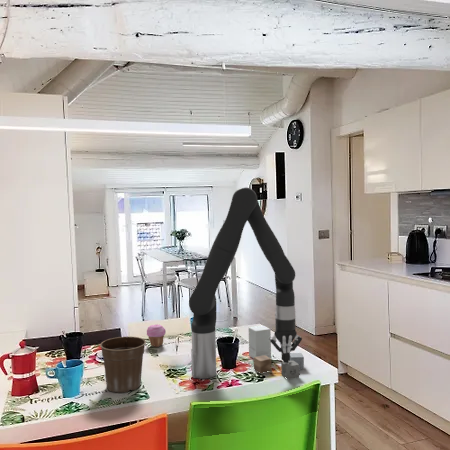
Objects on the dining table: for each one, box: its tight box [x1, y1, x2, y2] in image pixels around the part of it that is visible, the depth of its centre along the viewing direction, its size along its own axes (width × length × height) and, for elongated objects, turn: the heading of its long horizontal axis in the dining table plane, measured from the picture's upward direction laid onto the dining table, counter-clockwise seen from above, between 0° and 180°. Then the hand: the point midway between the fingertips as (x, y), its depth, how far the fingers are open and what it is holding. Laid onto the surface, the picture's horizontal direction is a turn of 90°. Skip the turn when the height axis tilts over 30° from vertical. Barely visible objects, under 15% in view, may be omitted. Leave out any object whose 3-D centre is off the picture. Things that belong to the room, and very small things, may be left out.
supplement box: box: [248, 324, 272, 360], centre depth 188 cm, size 7×7×13 cm
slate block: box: [290, 352, 305, 370], centre depth 176 cm, size 5×5×5 cm
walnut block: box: [253, 355, 272, 374], centre depth 173 cm, size 5×5×5 cm
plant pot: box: [99, 336, 147, 394], centre depth 160 cm, size 16×16×16 cm
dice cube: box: [280, 360, 300, 380], centre depth 167 cm, size 5×5×5 cm
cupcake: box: [146, 323, 166, 348], centre depth 207 cm, size 9×9×10 cm
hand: (285, 361), depth 166 cm, fingers closed
